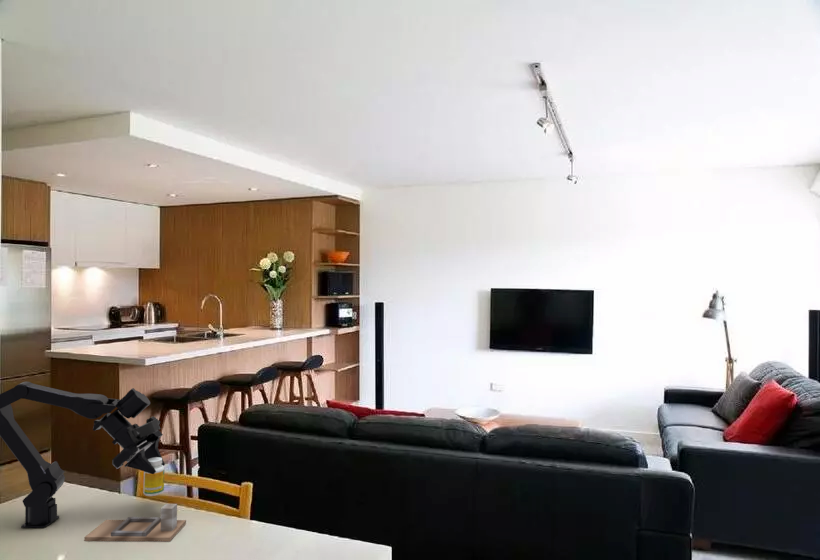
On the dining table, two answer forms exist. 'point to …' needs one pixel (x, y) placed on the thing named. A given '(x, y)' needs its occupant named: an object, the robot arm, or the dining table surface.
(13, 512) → the dining table surface
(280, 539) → the dining table surface
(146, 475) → the supplement bottle
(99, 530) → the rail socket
